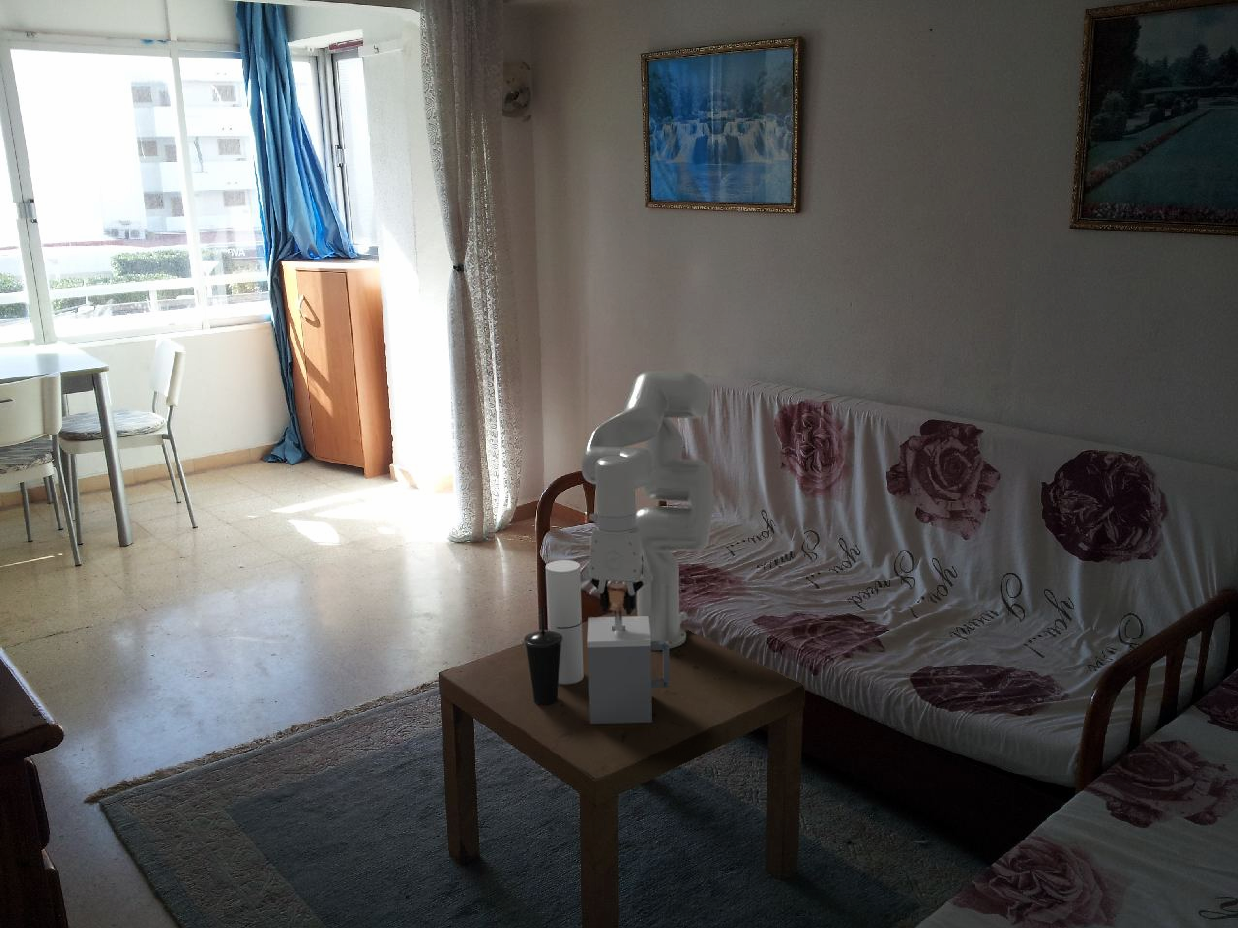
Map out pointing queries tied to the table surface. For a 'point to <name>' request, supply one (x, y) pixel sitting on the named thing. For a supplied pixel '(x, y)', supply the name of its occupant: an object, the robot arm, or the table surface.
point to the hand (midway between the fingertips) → (618, 610)
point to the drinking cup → (544, 663)
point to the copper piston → (617, 602)
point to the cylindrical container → (566, 616)
